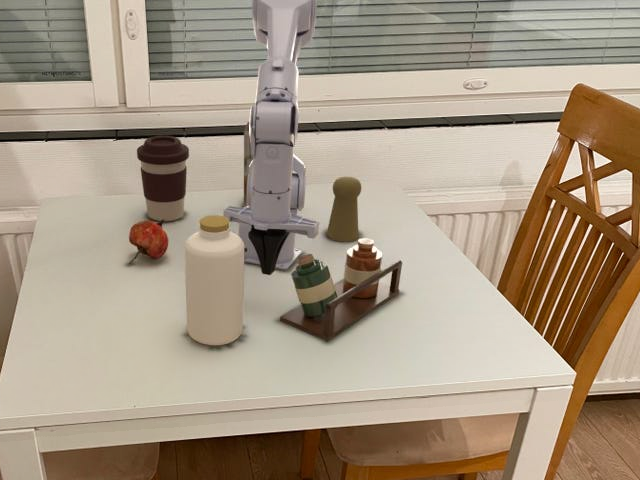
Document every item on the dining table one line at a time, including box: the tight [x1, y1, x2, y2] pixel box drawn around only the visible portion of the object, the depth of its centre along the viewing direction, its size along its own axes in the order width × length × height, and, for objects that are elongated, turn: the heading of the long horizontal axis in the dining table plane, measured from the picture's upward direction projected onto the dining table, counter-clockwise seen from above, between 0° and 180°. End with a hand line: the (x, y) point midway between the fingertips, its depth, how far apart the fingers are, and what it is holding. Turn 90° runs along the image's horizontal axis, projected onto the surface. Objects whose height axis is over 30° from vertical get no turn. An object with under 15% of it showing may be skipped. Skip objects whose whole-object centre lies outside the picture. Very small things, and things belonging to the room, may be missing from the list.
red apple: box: [128, 219, 169, 265], centre depth 132 cm, size 7×7×10 cm
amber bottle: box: [343, 237, 384, 298], centre depth 120 cm, size 6×6×8 cm
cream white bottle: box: [184, 214, 245, 346], centre depth 108 cm, size 8×8×18 cm
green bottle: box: [290, 253, 338, 316], centre depth 114 cm, size 6×6×8 cm
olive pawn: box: [326, 176, 362, 243], centre depth 140 cm, size 6×6×11 cm
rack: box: [279, 259, 403, 342], centre depth 118 cm, size 20×9×6 cm, turn 138°
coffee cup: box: [136, 135, 190, 222], centre depth 147 cm, size 10×10×15 cm
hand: (268, 271), depth 116 cm, fingers closed
